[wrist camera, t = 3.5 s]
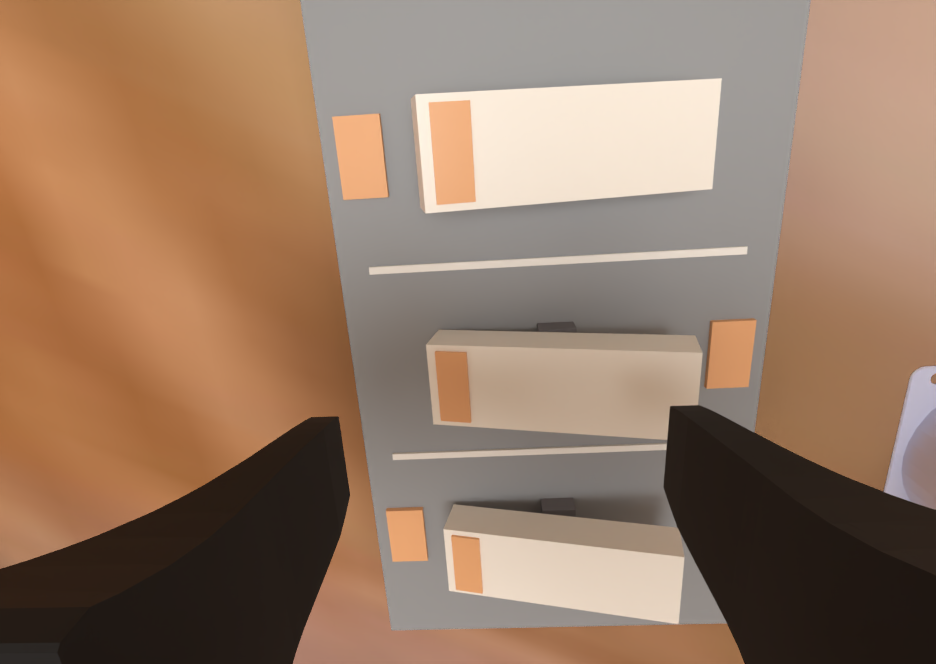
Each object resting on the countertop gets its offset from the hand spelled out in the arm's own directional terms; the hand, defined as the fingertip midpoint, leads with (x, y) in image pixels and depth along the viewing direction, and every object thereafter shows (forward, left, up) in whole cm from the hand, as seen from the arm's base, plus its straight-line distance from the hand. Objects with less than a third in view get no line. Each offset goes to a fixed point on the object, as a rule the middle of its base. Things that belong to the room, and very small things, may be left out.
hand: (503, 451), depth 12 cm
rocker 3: (-2, +8, -6) cm, 10 cm away
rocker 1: (-2, -6, -6) cm, 9 cm away
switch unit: (-2, +1, -9) cm, 10 cm away
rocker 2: (-2, +1, -6) cm, 6 cm away
